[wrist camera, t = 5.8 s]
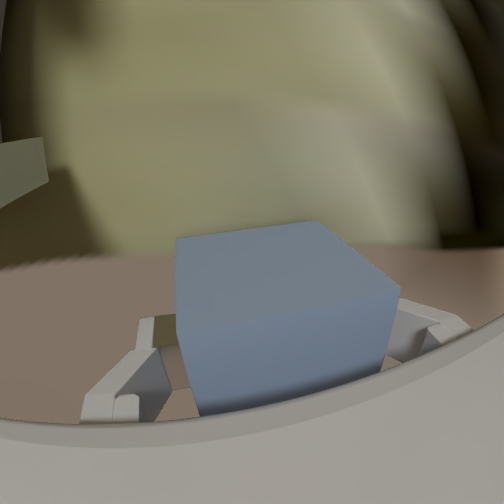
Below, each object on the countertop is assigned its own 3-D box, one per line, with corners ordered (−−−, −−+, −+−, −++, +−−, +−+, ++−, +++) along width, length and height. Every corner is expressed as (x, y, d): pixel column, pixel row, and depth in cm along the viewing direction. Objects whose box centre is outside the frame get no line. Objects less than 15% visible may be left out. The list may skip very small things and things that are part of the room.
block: (316, 220, 11) (401, 288, 6) (311, 330, 13) (364, 415, 8) (176, 239, 10) (176, 333, 6) (197, 351, 12) (213, 454, 8)
